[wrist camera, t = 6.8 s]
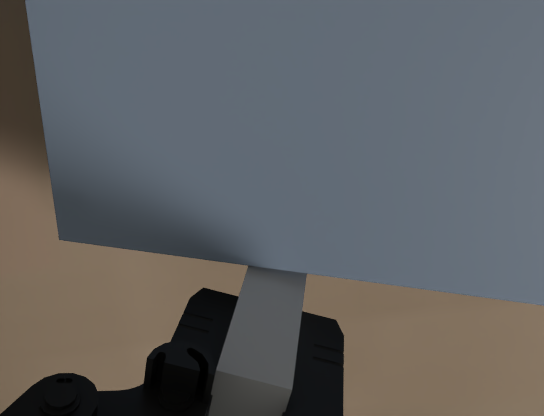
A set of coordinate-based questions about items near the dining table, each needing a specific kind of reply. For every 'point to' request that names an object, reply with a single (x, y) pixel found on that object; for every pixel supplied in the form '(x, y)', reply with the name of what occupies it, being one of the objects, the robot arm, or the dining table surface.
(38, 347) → the dining table surface
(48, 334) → the dining table surface
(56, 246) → the dining table surface
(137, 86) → the slate block
